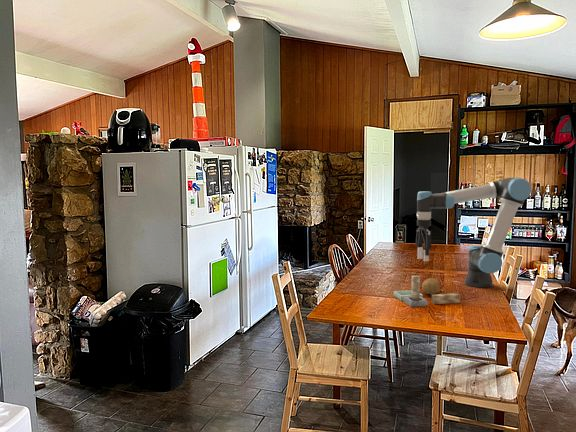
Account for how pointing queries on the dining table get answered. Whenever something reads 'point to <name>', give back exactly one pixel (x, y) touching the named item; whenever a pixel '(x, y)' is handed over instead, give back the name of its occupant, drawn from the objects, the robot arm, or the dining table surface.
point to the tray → (403, 294)
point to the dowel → (415, 288)
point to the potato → (431, 286)
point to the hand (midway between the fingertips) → (423, 259)
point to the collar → (415, 302)
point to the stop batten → (445, 298)
